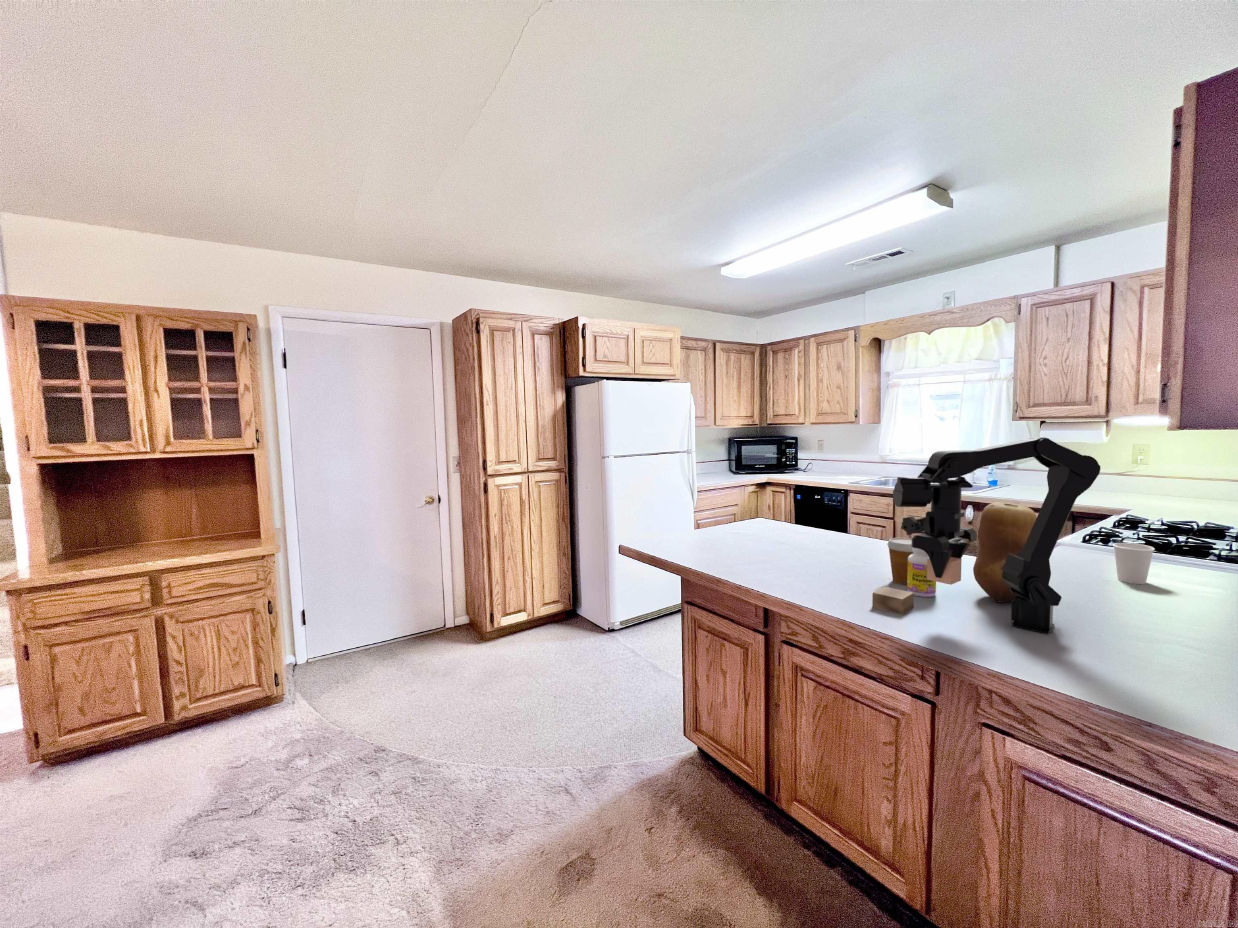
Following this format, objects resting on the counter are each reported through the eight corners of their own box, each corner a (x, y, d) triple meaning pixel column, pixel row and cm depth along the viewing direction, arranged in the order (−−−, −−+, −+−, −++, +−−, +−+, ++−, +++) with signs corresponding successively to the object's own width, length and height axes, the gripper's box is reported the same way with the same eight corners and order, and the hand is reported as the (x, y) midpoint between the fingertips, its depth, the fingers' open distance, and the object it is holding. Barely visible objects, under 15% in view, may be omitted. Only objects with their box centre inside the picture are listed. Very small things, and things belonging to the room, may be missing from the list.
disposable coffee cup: (879, 580, 151) (879, 539, 150) (901, 575, 155) (901, 536, 154) (909, 588, 142) (910, 546, 141) (931, 583, 146) (932, 542, 145)
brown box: (913, 608, 128) (913, 592, 128) (902, 615, 123) (902, 599, 123) (884, 601, 133) (884, 586, 133) (872, 608, 129) (872, 592, 128)
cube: (960, 580, 116) (961, 558, 116) (951, 584, 113) (951, 562, 113) (937, 575, 120) (937, 554, 120) (926, 579, 117) (927, 557, 117)
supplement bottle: (907, 595, 136) (908, 548, 136) (906, 588, 142) (907, 542, 141) (936, 599, 133) (938, 550, 133) (935, 591, 139) (936, 545, 138)
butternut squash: (1047, 611, 123) (1051, 508, 121) (981, 606, 127) (984, 506, 126) (1023, 594, 136) (1026, 500, 134) (964, 589, 140) (966, 499, 139)
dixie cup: (1103, 576, 149) (1104, 542, 149) (1132, 576, 149) (1134, 542, 148) (1130, 585, 141) (1132, 549, 140) (1162, 585, 141) (1163, 549, 140)
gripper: (927, 499, 127) (925, 561, 129) (888, 507, 117) (887, 574, 118) (978, 504, 118) (976, 571, 119) (941, 513, 108) (939, 586, 109)
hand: (943, 575), depth 117 cm, fingers closed on cube, 5 cm apart
